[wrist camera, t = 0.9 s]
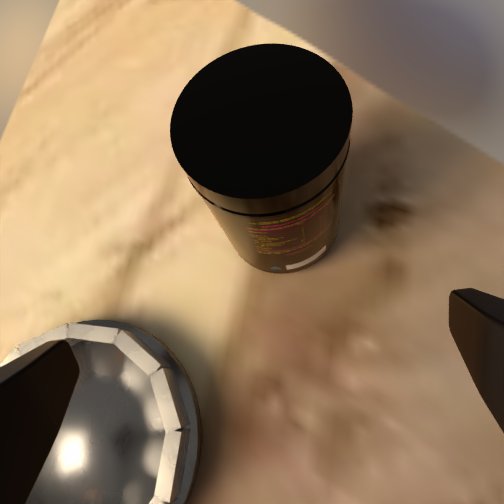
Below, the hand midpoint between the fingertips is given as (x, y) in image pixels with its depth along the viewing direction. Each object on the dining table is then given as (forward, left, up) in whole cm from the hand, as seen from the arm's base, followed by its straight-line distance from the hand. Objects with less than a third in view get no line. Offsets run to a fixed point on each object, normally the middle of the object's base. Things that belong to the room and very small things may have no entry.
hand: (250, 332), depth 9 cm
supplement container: (+8, -3, -13) cm, 15 cm away
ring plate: (+1, +12, -13) cm, 18 cm away
